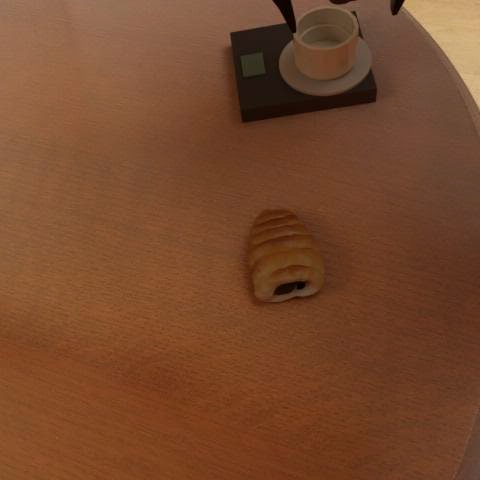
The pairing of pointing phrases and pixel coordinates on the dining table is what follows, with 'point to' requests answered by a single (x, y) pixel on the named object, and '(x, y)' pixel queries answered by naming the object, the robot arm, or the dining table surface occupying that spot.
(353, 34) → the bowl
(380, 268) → the dining table surface
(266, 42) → the scale
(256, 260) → the pastry
